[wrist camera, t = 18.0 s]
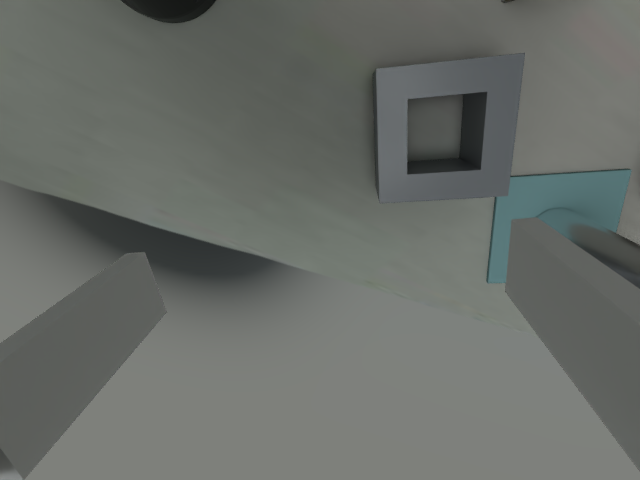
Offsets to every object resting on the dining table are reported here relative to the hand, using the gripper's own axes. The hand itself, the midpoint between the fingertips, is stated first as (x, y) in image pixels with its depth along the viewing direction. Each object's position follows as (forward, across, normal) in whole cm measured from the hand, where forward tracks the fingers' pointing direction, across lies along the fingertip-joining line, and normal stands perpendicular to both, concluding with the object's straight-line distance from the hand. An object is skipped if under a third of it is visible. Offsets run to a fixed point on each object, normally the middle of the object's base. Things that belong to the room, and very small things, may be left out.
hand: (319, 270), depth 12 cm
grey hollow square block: (+34, +10, 0) cm, 36 cm away
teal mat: (+34, +26, -14) cm, 45 cm away
